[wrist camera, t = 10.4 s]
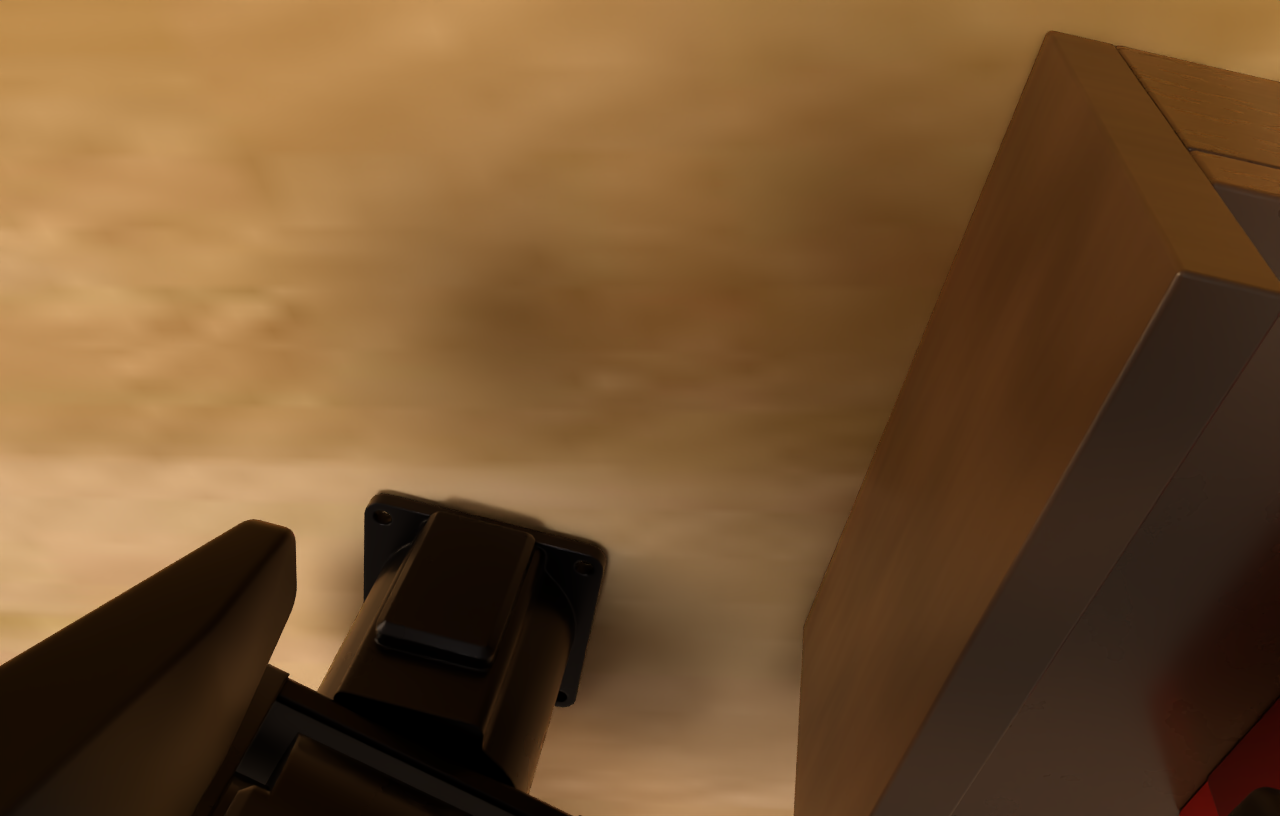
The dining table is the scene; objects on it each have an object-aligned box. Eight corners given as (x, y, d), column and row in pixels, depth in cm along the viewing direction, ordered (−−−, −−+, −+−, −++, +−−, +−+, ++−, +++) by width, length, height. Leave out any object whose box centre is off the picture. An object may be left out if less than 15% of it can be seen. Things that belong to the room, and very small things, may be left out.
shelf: (1289, 747, 27) (1448, 1140, 20) (803, 625, 27) (784, 965, 20) (1811, 203, 17) (2498, 580, 10) (1048, 28, 18) (1179, 270, 10)
